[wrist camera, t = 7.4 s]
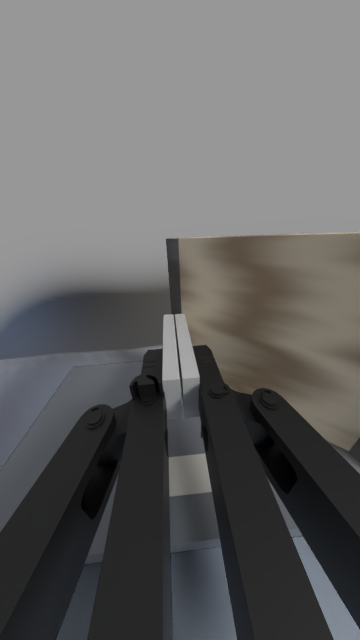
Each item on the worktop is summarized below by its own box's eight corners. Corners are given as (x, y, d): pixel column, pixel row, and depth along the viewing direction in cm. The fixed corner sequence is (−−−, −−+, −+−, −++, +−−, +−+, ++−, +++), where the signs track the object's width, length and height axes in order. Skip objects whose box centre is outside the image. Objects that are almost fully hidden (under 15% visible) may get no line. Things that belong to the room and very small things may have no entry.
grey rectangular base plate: (309, 357, 21) (313, 346, 20) (487, 511, 9) (513, 500, 8) (77, 376, 20) (73, 365, 19) (-51, 581, 8) (-76, 575, 7)
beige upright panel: (393, 442, 11) (607, 223, 5) (411, 489, 9) (784, 221, 3) (186, 359, 18) (182, 237, 13) (172, 374, 17) (161, 239, 11)
